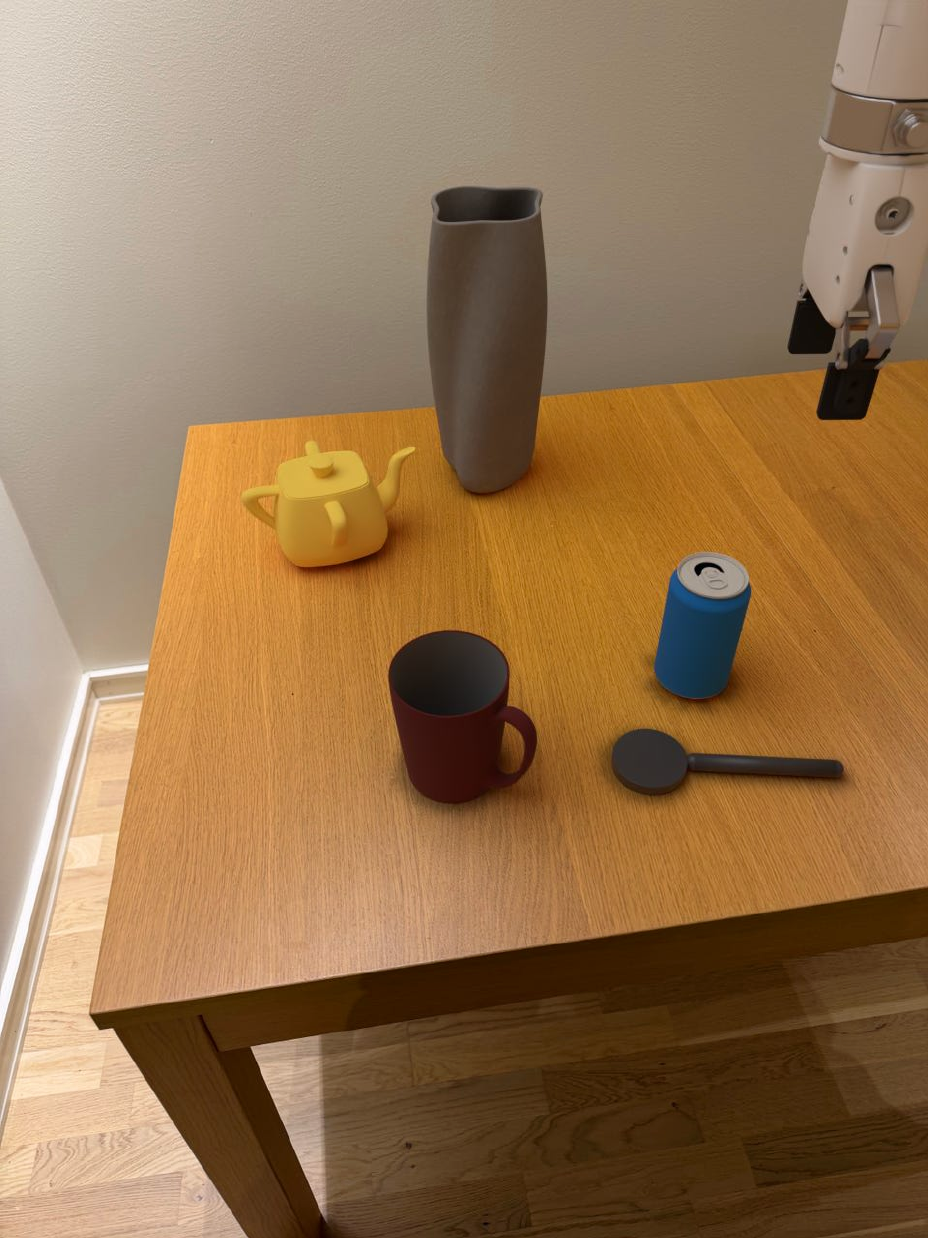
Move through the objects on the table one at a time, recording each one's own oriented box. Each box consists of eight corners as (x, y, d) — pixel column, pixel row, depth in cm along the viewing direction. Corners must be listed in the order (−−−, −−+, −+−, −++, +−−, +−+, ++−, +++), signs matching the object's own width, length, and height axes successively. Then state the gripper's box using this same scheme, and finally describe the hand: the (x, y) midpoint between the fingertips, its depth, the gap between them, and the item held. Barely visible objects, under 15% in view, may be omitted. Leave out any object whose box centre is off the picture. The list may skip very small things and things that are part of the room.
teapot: (327, 491, 102) (314, 411, 95) (422, 523, 97) (416, 441, 90) (248, 557, 93) (228, 474, 86) (348, 596, 88) (335, 511, 81)
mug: (561, 776, 71) (569, 681, 64) (495, 852, 66) (497, 759, 59) (444, 709, 77) (439, 614, 69) (375, 775, 72) (362, 680, 64)
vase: (545, 448, 107) (559, 184, 87) (533, 507, 99) (545, 227, 78) (446, 441, 109) (436, 179, 89) (425, 497, 100) (409, 221, 80)
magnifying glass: (832, 745, 73) (836, 734, 72) (850, 805, 69) (855, 794, 68) (609, 734, 74) (611, 723, 73) (612, 793, 70) (614, 782, 69)
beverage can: (711, 648, 82) (735, 544, 74) (738, 699, 77) (768, 594, 69) (643, 657, 81) (660, 553, 73) (667, 709, 76) (688, 605, 68)
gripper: (1011, 162, 46) (913, 447, 58) (910, 83, 59) (846, 330, 70) (863, 166, 47) (795, 447, 58) (794, 87, 59) (750, 331, 71)
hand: (823, 383), depth 64 cm, fingers open, 9 cm apart
